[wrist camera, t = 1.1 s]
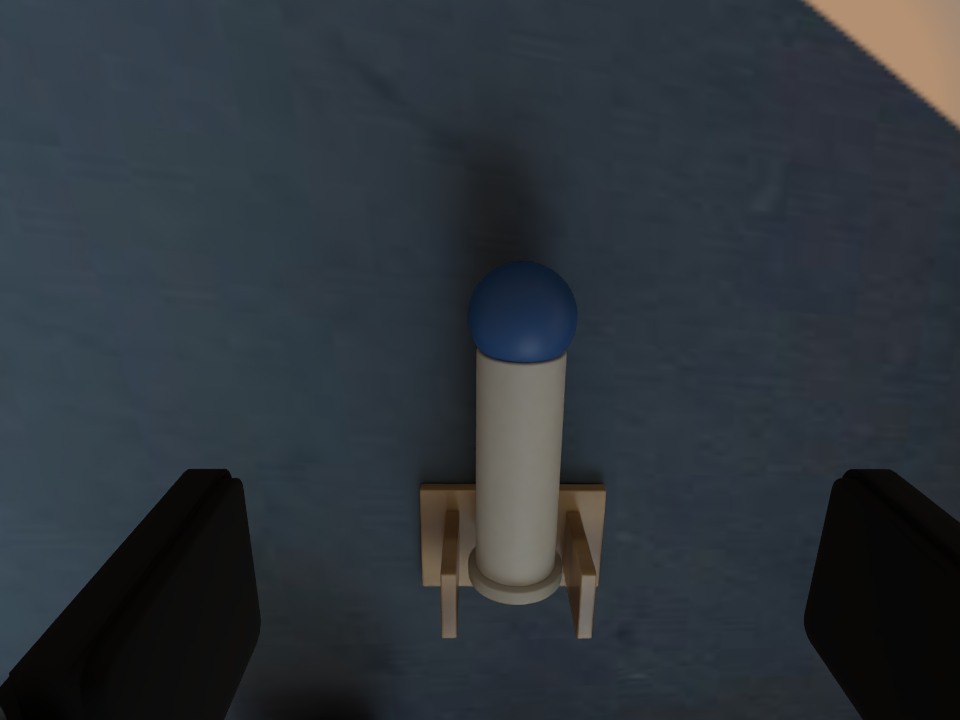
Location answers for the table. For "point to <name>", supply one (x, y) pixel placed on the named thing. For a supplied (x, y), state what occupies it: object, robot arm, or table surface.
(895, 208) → the table surface
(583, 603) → the rack
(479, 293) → the blue tipped lever
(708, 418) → the table surface
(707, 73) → the table surface
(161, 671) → the robot arm
